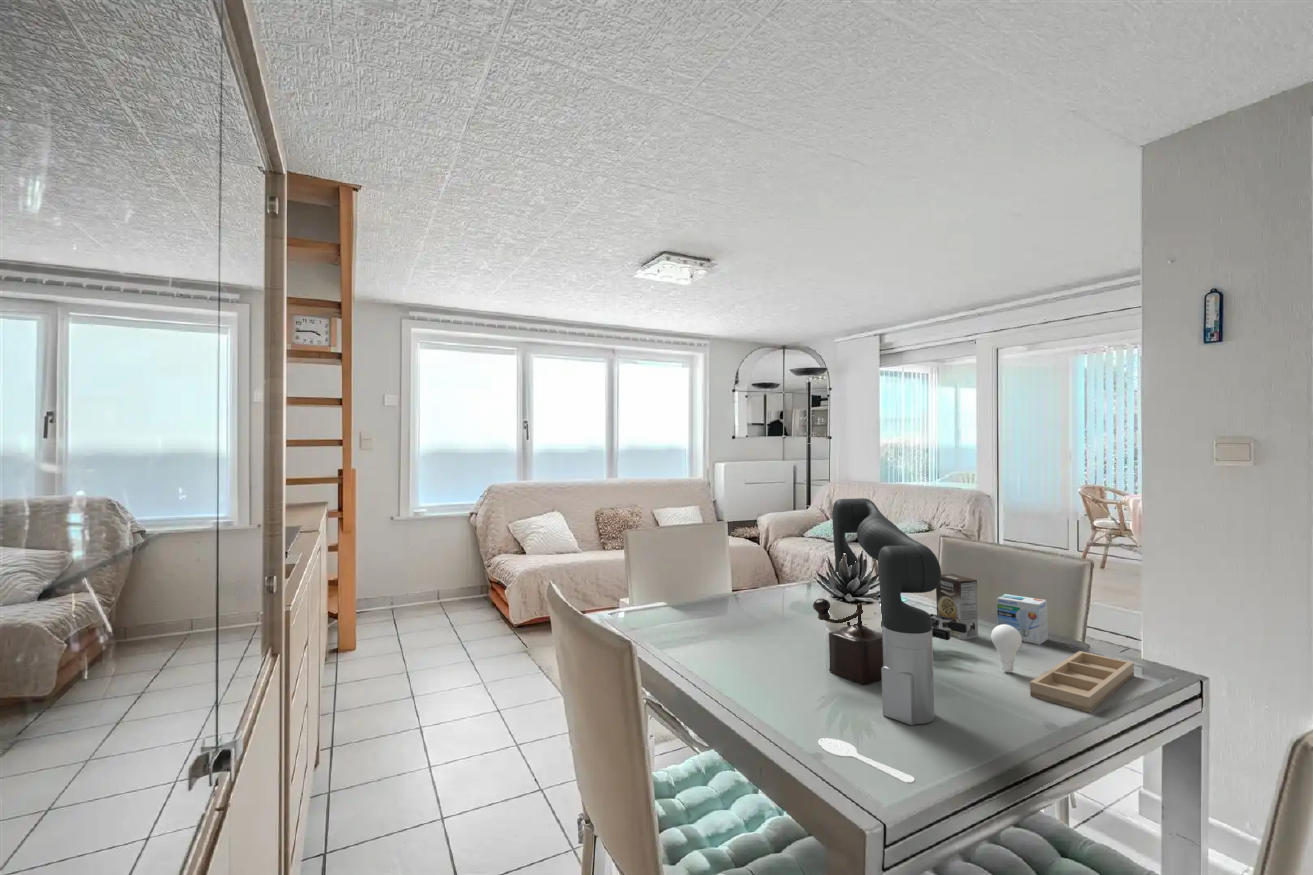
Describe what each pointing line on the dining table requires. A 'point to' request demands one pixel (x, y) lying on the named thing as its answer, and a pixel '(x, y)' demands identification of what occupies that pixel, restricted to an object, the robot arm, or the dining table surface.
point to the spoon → (860, 757)
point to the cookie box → (958, 603)
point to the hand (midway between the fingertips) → (958, 632)
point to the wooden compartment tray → (1082, 680)
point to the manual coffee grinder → (853, 647)
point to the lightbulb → (1006, 645)
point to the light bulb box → (1024, 616)
